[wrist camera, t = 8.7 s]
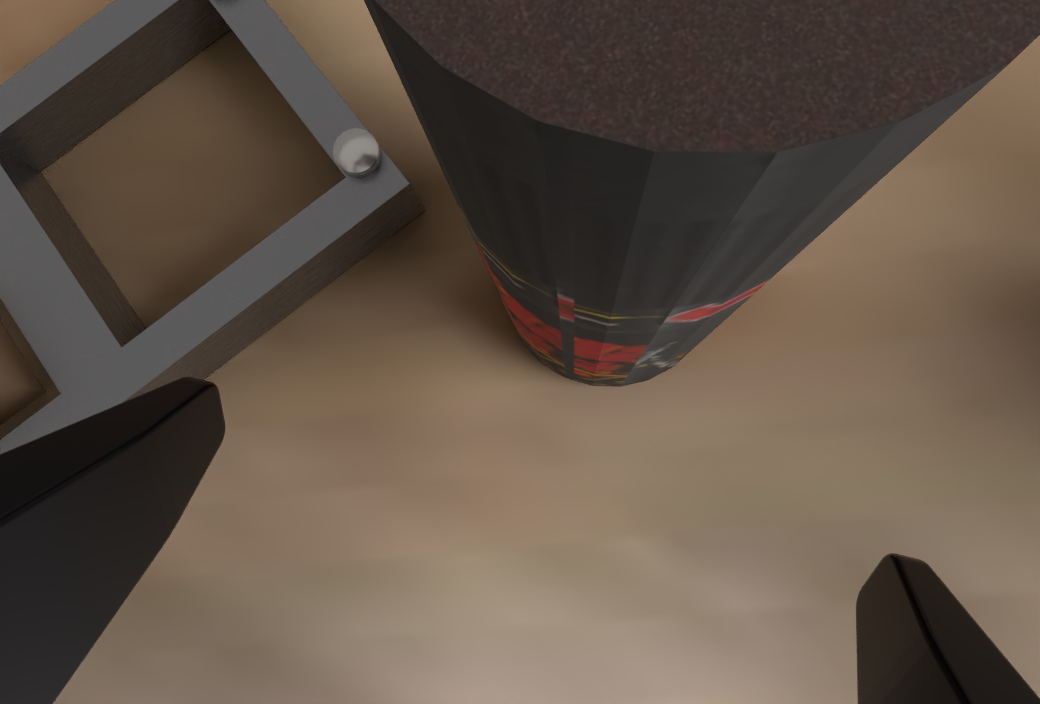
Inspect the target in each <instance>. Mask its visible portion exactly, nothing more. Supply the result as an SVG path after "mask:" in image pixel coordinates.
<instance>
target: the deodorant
mask: <svg viewBox="0 0 1040 704" xmlns="http://www.w3.org/2000/svg"><path fill="white" fill-rule="evenodd" d="M364 1H365V3H366V6H367V8H368V10H369V12H370V14H371V16H372V19H373V21H374V23H375V25H376V27H377V29H378V32H379V34H380V36H381V38H382V40H383V42H384V45H385V47H386V49H387V51H388V53H389V56H390V58H391V60H392V62H393V64H394V66H395V69H396V71H397V73H398V75H399V77H400V79H401V82H402V84H403V86H404V88H405V90H406V92H407V95H408V97H409V99H410V101H411V103H412V105H413V108H414V110H415V112H416V114H417V116H418V119H419V121H420V123H421V125H422V127H423V129H424V132H425V134H426V136H427V138H428V140H429V142H430V145H431V147H432V149H433V151H434V153H435V155H436V158H437V160H438V162H439V164H440V166H441V169H442V171H443V173H444V175H445V177H446V179H447V182H448V184H449V186H450V188H451V190H452V192H453V195H454V197H455V199H456V201H457V203H458V205H459V208H460V210H461V212H462V214H463V216H464V218H465V221H466V223H467V225H468V227H469V229H470V232H471V234H472V236H473V238H474V240H475V242H476V245H477V247H478V249H479V251H480V253H481V255H482V258H483V260H484V262H485V264H486V266H487V268H488V271H489V273H490V275H491V277H492V279H493V282H494V284H495V286H496V288H497V290H498V292H499V295H500V297H501V299H502V301H503V303H504V305H505V308H506V310H507V312H508V314H509V316H510V318H511V321H512V322H513V324H514V326H515V328H516V330H517V332H518V334H519V335H520V337H521V339H522V341H523V343H524V344H525V345H526V346H527V347H528V348H529V350H530V351H531V352H532V353H533V354H534V355H535V356H536V357H537V358H538V359H539V360H540V361H541V362H542V363H543V364H545V365H546V366H548V367H550V368H551V369H553V370H555V371H556V372H558V373H559V374H561V375H563V376H564V377H566V378H569V379H572V380H576V381H579V382H582V383H586V384H589V385H593V386H625V385H629V384H633V383H638V382H642V381H646V380H649V379H651V378H653V377H655V376H657V375H658V374H660V373H662V372H664V371H666V370H668V369H670V368H672V367H673V366H674V365H675V364H676V363H678V362H679V361H680V360H681V359H682V358H683V357H684V356H685V355H686V354H688V353H689V352H690V351H691V350H692V349H693V348H694V347H695V346H696V345H698V344H699V343H700V342H701V341H702V340H703V339H704V338H705V337H706V336H708V335H709V334H710V333H711V332H712V331H713V330H714V329H715V328H716V327H718V326H719V325H720V324H721V323H722V322H723V321H724V320H725V319H726V318H727V317H729V316H730V315H731V314H732V313H733V312H734V311H735V310H736V309H737V308H739V307H740V306H741V305H742V304H743V303H744V302H745V301H746V300H747V299H749V298H750V297H751V296H752V295H753V294H754V293H755V292H756V291H757V290H759V289H760V288H761V287H762V286H763V285H764V284H765V283H766V282H767V281H769V280H770V279H771V278H772V277H773V276H774V275H775V274H776V273H777V272H779V271H780V270H781V269H782V268H783V267H784V266H785V265H786V264H787V263H789V262H790V261H791V260H792V259H793V258H794V257H795V256H796V255H797V254H799V253H800V252H801V251H802V250H803V249H804V248H805V247H806V246H807V245H809V244H810V243H811V242H812V241H813V240H814V239H815V238H816V237H817V236H818V235H820V234H821V233H822V232H823V231H824V230H825V229H826V228H827V227H828V226H830V225H831V224H832V223H833V222H834V221H835V220H836V219H837V218H838V217H840V216H841V215H842V214H843V213H844V212H845V211H846V210H847V209H848V208H850V207H851V206H852V205H853V204H854V203H855V202H856V201H857V200H858V199H860V198H861V197H862V196H863V195H864V194H865V193H866V192H867V191H868V190H870V189H871V188H872V187H873V186H874V185H875V184H876V183H877V182H878V181H880V180H881V179H882V178H883V177H884V176H885V175H886V174H887V173H888V172H890V171H891V170H892V169H893V168H894V167H895V166H896V165H897V164H898V163H900V162H901V161H902V160H903V159H904V158H905V157H906V156H907V155H908V154H910V153H911V152H912V151H913V150H914V149H915V148H916V147H917V146H918V145H919V144H921V143H922V142H923V141H924V140H925V139H926V138H927V137H928V136H929V135H931V134H932V133H933V132H934V131H935V130H936V129H937V128H938V127H939V126H941V125H942V124H943V123H944V122H945V121H946V120H947V119H948V118H949V117H951V116H952V115H953V114H954V113H955V112H956V111H957V110H958V109H959V108H961V107H962V106H963V105H964V104H965V103H966V102H967V101H968V100H969V99H971V98H972V97H973V96H974V95H975V94H976V93H977V92H978V91H979V90H981V89H982V88H983V87H984V86H985V85H986V84H987V83H988V82H989V81H991V80H992V79H993V78H994V77H995V76H996V75H997V74H998V73H999V72H1001V71H1002V70H1003V69H1004V68H1005V67H1006V66H1007V65H1008V64H1009V63H1010V62H1011V61H1012V60H1014V59H1015V58H1016V57H1017V56H1018V55H1019V54H1020V53H1021V52H1022V51H1023V50H1024V49H1025V48H1026V47H1027V46H1028V45H1029V44H1030V43H1032V42H1033V41H1034V40H1035V39H1036V38H1037V37H1038V36H1039V35H1040V0H364Z"/></svg>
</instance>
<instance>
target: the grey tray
mask: <svg viewBox="0 0 1040 704" xmlns="http://www.w3.org/2000/svg"><path fill="white" fill-rule="evenodd" d="M230 29H232V30H233V32H234V33H235V34H236V36H237V37H238V38H239V39H240V41H241V42H242V43H243V45H244V46H245V47H246V49H247V50H248V51H249V52H250V54H251V55H252V56H253V58H254V59H255V60H256V62H257V63H258V64H259V65H260V67H261V68H262V69H263V71H264V72H265V73H266V75H267V76H268V77H269V78H270V80H271V81H272V82H273V84H274V85H275V86H276V88H277V89H278V90H279V91H280V93H281V94H282V95H283V97H284V98H285V99H286V100H287V102H288V103H289V104H290V106H291V107H292V108H293V110H294V111H295V112H296V113H297V115H298V116H299V117H300V119H301V120H302V121H303V123H304V124H305V125H306V126H307V128H308V129H309V130H310V132H311V133H312V134H313V136H314V137H315V138H316V139H317V141H318V142H319V143H320V145H321V146H322V147H323V149H324V150H325V151H326V152H327V154H328V155H329V156H330V158H331V159H332V160H333V162H334V163H335V164H336V165H337V167H338V168H339V169H340V171H341V172H342V173H343V175H344V176H345V177H346V178H344V179H343V180H342V181H340V182H339V183H338V184H336V185H335V186H334V187H332V188H331V189H330V190H329V191H327V192H326V193H325V194H323V195H322V196H321V197H319V198H318V199H317V200H315V201H314V202H313V203H311V204H310V205H309V206H307V207H306V208H305V209H304V210H302V211H301V212H300V213H298V214H297V215H296V216H294V217H293V218H292V219H290V220H289V221H288V222H286V223H285V224H284V225H282V226H281V227H280V228H279V229H277V230H276V231H275V232H273V233H272V234H271V235H269V236H268V237H267V238H265V239H264V240H263V241H261V242H260V243H259V244H257V245H256V246H255V247H253V248H252V249H251V250H250V251H248V252H247V253H246V254H244V255H243V256H242V257H240V258H239V259H238V260H236V261H235V262H234V263H232V264H231V265H230V266H228V267H227V268H226V269H225V270H223V271H222V272H221V273H219V274H218V275H217V276H215V277H214V278H213V279H211V280H210V281H209V282H207V283H206V284H205V285H203V286H202V287H201V288H200V289H198V290H197V291H196V292H194V293H193V294H192V295H190V296H189V297H188V298H186V299H185V300H184V301H182V302H181V303H180V304H178V305H177V306H176V307H175V308H173V309H172V310H171V311H169V312H168V313H167V314H165V315H164V316H163V317H161V318H160V319H159V320H157V321H156V322H155V323H153V324H152V325H151V326H149V327H148V328H147V329H146V328H145V327H144V325H143V324H142V322H141V321H140V319H139V318H138V317H137V315H136V314H135V312H134V311H133V309H132V308H131V306H130V305H129V303H128V302H127V300H126V299H125V297H124V296H123V294H122V293H121V291H120V290H119V288H118V287H117V285H116V284H115V282H114V281H113V279H112V278H111V276H110V275H109V273H108V272H107V270H106V269H105V267H104V266H103V264H102V263H101V261H100V260H99V258H98V257H97V256H96V254H95V253H94V251H93V250H92V248H91V247H90V245H89V244H88V242H87V241H86V239H85V238H84V236H83V235H82V233H81V232H80V230H79V229H78V227H77V226H76V224H75V223H74V221H73V220H72V218H71V217H70V215H69V214H68V212H67V211H66V209H65V208H64V206H63V205H62V203H61V202H60V200H59V199H58V197H57V196H56V195H55V193H54V192H53V190H52V189H51V187H50V186H49V184H48V183H47V181H46V180H45V178H44V177H43V175H42V174H41V172H40V171H42V170H43V169H44V168H46V167H47V166H48V165H50V164H51V163H52V162H54V161H55V160H56V159H58V158H59V157H60V156H62V155H63V154H64V153H66V152H67V151H68V150H70V149H71V148H72V147H74V146H75V145H76V144H78V143H79V142H80V141H82V140H83V139H84V138H86V137H87V136H88V135H90V134H91V133H92V132H94V131H95V130H96V129H98V128H99V127H100V126H102V125H103V124H104V123H106V122H107V121H108V120H110V119H111V118H112V117H114V116H115V115H116V114H118V113H119V112H121V111H122V110H123V109H125V108H126V107H127V106H129V105H130V104H131V103H133V102H134V101H135V100H137V99H138V98H139V97H141V96H142V95H143V94H145V93H146V92H147V91H149V90H150V89H151V88H153V87H154V86H155V85H157V84H158V83H159V82H161V81H162V80H163V79H165V78H166V77H167V76H169V75H170V74H171V73H173V72H174V71H175V70H177V69H178V68H179V67H181V66H182V65H183V64H185V63H186V62H187V61H189V60H190V59H191V58H193V57H194V56H195V55H197V54H198V53H199V52H201V51H202V50H203V49H205V48H206V47H207V46H209V45H210V44H211V43H213V42H214V41H215V40H217V39H218V38H219V37H221V36H222V35H223V34H225V33H226V32H227V31H229V30H230ZM425 210H426V209H425V208H424V206H423V205H422V203H421V201H420V200H419V198H418V196H417V195H416V193H415V192H414V190H413V188H412V187H411V185H410V183H409V182H408V181H407V180H406V178H405V177H404V176H403V175H402V173H401V172H400V171H399V169H398V168H397V167H396V166H395V164H394V163H393V162H392V161H391V159H390V158H389V157H388V156H387V154H386V153H385V152H384V150H383V149H382V148H381V147H380V145H379V144H378V143H377V141H376V140H375V138H374V137H373V135H372V134H371V133H370V132H369V131H368V130H367V129H366V128H365V126H364V125H363V124H362V123H361V121H360V120H359V119H358V118H357V116H356V115H355V114H354V112H353V111H352V110H351V109H350V107H349V106H348V105H347V104H346V102H345V101H344V100H343V99H342V97H341V96H340V95H339V93H338V92H337V91H336V90H335V88H334V87H333V86H332V85H331V83H330V82H329V81H328V80H327V78H326V77H325V76H324V74H323V73H322V72H321V71H320V69H319V68H318V67H317V66H316V64H315V63H314V62H313V61H312V59H311V58H310V57H309V55H308V54H307V53H306V52H305V50H304V49H303V48H302V47H301V45H300V44H299V43H298V41H297V40H296V39H295V38H294V36H293V35H292V34H291V33H290V31H289V30H288V29H287V28H286V26H285V25H284V24H283V22H282V21H281V20H280V19H279V17H278V16H277V15H276V14H275V12H274V11H273V10H272V9H271V7H270V6H269V5H268V3H267V2H266V1H265V0H115V1H114V2H112V3H111V4H110V5H108V6H107V7H106V8H104V9H103V10H102V11H100V12H99V13H97V14H96V15H95V16H93V17H92V18H91V19H89V20H88V21H87V22H85V23H84V24H83V25H81V26H80V27H79V28H77V29H76V30H75V31H73V32H72V33H71V34H69V35H68V36H67V37H65V38H64V39H62V40H61V41H60V42H58V43H57V44H56V45H54V46H53V47H52V48H50V49H49V50H48V51H46V52H45V53H44V54H42V55H41V56H40V57H38V58H37V59H36V60H34V61H33V62H32V63H30V64H29V65H27V66H26V67H25V68H23V69H22V70H21V71H19V72H18V73H17V74H15V75H14V76H13V77H11V78H10V79H9V80H7V81H6V82H5V83H3V84H2V85H1V86H0V299H1V300H2V302H3V303H4V305H5V306H6V308H7V310H8V311H9V313H10V314H11V316H12V318H13V319H14V321H15V322H16V324H17V325H18V327H19V329H20V330H21V332H22V333H23V335H24V337H25V338H26V340H27V341H28V343H29V344H30V346H31V348H32V349H33V351H34V352H35V354H36V355H37V357H38V359H39V360H40V362H41V363H42V365H43V367H44V368H45V370H46V371H47V373H48V374H49V376H50V378H51V379H52V381H53V382H54V384H55V385H56V387H57V389H58V390H59V392H60V393H61V394H60V395H59V396H57V397H56V398H55V399H53V400H52V401H51V402H49V403H48V404H47V405H46V406H44V407H43V408H42V409H40V410H39V411H38V412H36V413H35V414H34V415H32V416H31V417H30V418H28V419H27V420H26V421H24V422H23V423H22V424H20V425H19V426H18V427H17V428H15V429H14V430H13V431H11V432H10V433H9V434H7V435H6V436H5V437H3V438H2V439H1V440H0V454H2V453H4V452H7V451H9V450H11V449H14V448H16V447H18V446H21V445H23V444H26V443H28V442H30V441H33V440H35V439H37V438H40V437H42V436H45V435H47V434H49V433H52V432H54V431H56V430H59V429H61V428H63V427H66V426H68V425H71V424H73V423H75V422H78V421H80V420H82V419H85V418H87V417H90V416H92V415H94V414H97V413H99V412H101V411H104V410H106V409H109V408H111V407H113V406H116V405H118V404H120V403H123V402H125V401H128V400H130V399H132V398H135V397H137V396H139V395H142V394H144V393H147V392H149V391H151V390H154V389H156V388H158V387H161V386H163V385H166V384H168V383H170V382H173V381H175V380H177V379H180V378H183V377H193V378H197V379H201V380H203V379H205V378H206V377H207V376H209V375H210V374H211V373H213V372H214V371H215V370H217V369H218V368H219V367H220V366H222V365H223V364H224V363H226V362H227V361H228V360H230V359H231V358H232V357H234V356H235V355H236V354H238V353H239V352H240V351H241V350H243V349H244V348H245V347H247V346H248V345H249V344H251V343H252V342H253V341H255V340H256V339H257V338H258V337H260V336H261V335H262V334H264V333H265V332H266V331H268V330H269V329H270V328H272V327H273V326H274V325H275V324H277V323H278V322H279V321H281V320H282V319H283V318H285V317H286V316H287V315H289V314H290V313H291V312H292V311H294V310H295V309H296V308H298V307H299V306H300V305H302V304H303V303H304V302H306V301H307V300H308V299H309V298H311V297H312V296H313V295H315V294H316V293H317V292H319V291H320V290H321V289H323V288H324V287H325V286H326V285H328V284H329V283H330V282H332V281H333V280H334V279H336V278H337V277H338V276H340V275H341V274H342V273H343V272H345V271H346V270H347V269H349V268H350V267H351V266H353V265H354V264H355V263H357V262H358V261H359V260H360V259H362V258H363V257H364V256H366V255H367V254H368V253H370V252H371V251H372V250H374V249H375V248H376V247H378V246H379V245H380V244H381V243H383V242H384V241H385V240H387V239H388V238H389V237H391V236H392V235H393V234H395V233H396V232H397V231H398V230H400V229H401V228H402V227H404V226H405V225H406V224H408V223H409V222H410V221H412V220H413V219H414V218H415V217H417V216H418V215H419V214H421V213H422V212H423V211H425Z"/></svg>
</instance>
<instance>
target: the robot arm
mask: <svg viewBox="0 0 1040 704" xmlns="http://www.w3.org/2000/svg"><path fill="white" fill-rule="evenodd" d="M224 434H225V421H224V416H223V410H222V405H221V400H220V394H219V390H218V388H217V386H216V385H215V384H214V383H212V382H209V381H205V380H201V379H197V378H193V377H183V378H180V379H177V380H175V381H173V382H170V383H168V384H166V385H163V386H161V387H158V388H156V389H154V390H151V391H149V392H147V393H144V394H142V395H139V396H137V397H135V398H132V399H130V400H128V401H125V402H123V403H120V404H118V405H116V406H113V407H111V408H109V409H106V410H104V411H101V412H99V413H97V414H94V415H92V416H90V417H87V418H85V419H82V420H80V421H78V422H75V423H73V424H71V425H68V426H66V427H63V428H61V429H59V430H56V431H54V432H52V433H49V434H47V435H45V436H42V437H40V438H37V439H35V440H33V441H30V442H28V443H26V444H23V445H21V446H18V447H16V448H14V449H11V450H9V451H7V452H4V453H2V454H0V704H53V702H54V701H55V700H56V698H57V697H58V695H59V694H60V692H61V691H62V690H63V688H64V687H65V685H66V684H67V682H68V681H69V680H70V678H71V677H72V675H73V674H74V672H75V671H76V670H77V668H78V667H79V665H80V664H81V662H82V661H83V660H84V658H85V657H86V655H87V654H88V652H89V651H90V650H91V648H92V647H93V645H94V644H95V642H96V641H97V640H98V638H99V637H100V635H101V634H102V632H103V631H104V630H105V628H106V627H107V625H108V624H109V622H110V621H111V620H112V618H113V617H114V615H115V614H116V612H117V611H118V610H119V608H120V607H121V605H122V604H123V602H124V601H125V600H126V598H127V597H128V595H129V594H130V592H131V591H132V590H133V588H134V587H135V585H136V584H137V582H138V581H139V580H140V578H141V577H142V575H143V574H144V572H145V571H146V570H147V568H148V567H149V565H150V564H151V562H152V561H153V560H154V558H155V557H156V555H157V554H158V552H159V551H160V550H161V548H162V547H163V545H164V544H165V542H166V541H167V539H168V538H169V536H170V534H171V533H172V531H173V529H174V528H175V526H176V524H177V523H178V521H179V519H180V517H181V516H182V514H183V512H184V510H185V508H186V507H187V505H188V503H189V501H190V499H191V497H192V496H193V494H194V492H195V490H196V488H197V487H198V485H199V483H200V481H201V479H202V477H203V476H204V474H205V472H206V470H207V468H208V467H209V465H210V463H211V461H212V459H213V458H214V456H215V454H216V452H217V450H218V448H219V447H220V445H221V443H222V440H223V438H224ZM856 635H857V690H858V704H1040V698H1039V697H1038V696H1037V695H1036V694H1035V692H1034V691H1033V690H1032V689H1031V688H1030V686H1029V685H1028V684H1027V683H1026V682H1025V680H1024V679H1023V678H1022V677H1021V675H1020V674H1019V673H1018V672H1017V671H1016V669H1015V668H1014V667H1013V666H1012V665H1011V663H1010V662H1009V661H1008V660H1007V659H1006V657H1005V656H1004V655H1003V654H1002V653H1001V651H1000V650H999V649H998V648H997V647H996V645H995V644H994V643H993V642H992V641H991V639H990V638H989V637H988V636H987V635H986V633H985V632H984V631H983V630H982V629H981V627H980V626H979V625H978V624H977V623H976V621H975V620H974V619H973V618H972V617H971V615H970V614H969V613H968V612H967V611H966V609H965V608H964V607H963V606H962V605H961V603H960V602H959V601H958V600H957V599H956V597H955V596H954V595H953V594H952V593H951V591H950V590H949V589H948V588H947V587H946V585H945V584H944V583H943V582H942V581H941V579H940V578H939V577H938V576H937V575H936V573H935V572H934V571H933V570H932V569H931V567H930V566H929V565H928V564H926V563H925V562H923V561H921V560H919V559H915V558H911V557H907V556H903V555H899V554H895V553H890V554H888V555H886V556H885V557H884V558H883V559H882V560H881V561H880V563H879V564H878V566H877V567H876V568H875V570H874V571H873V573H872V574H871V576H870V577H869V578H868V580H867V581H866V583H865V584H864V585H863V587H862V588H861V590H860V592H859V595H858V598H857V603H856Z"/></svg>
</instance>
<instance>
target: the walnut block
mask: <svg viewBox="0 0 1040 704" xmlns="http://www.w3.org/2000/svg"><path fill="white" fill-rule="evenodd" d="M44 392H45V389H44V388H43V386H42V385H41V383H40V381H39V380H38V378H37V377H36V375H35V373H34V372H33V370H32V369H31V367H30V365H29V364H28V362H27V361H26V359H25V358H24V356H23V354H22V353H21V351H20V350H19V348H18V346H17V345H16V343H15V342H14V340H13V338H12V337H11V335H10V334H9V332H8V330H7V329H6V327H5V326H4V324H3V322H2V321H1V319H0V425H2V424H3V423H4V422H6V421H7V420H8V419H10V418H11V417H12V416H14V415H15V414H16V413H18V412H19V411H20V410H22V409H23V408H24V407H26V406H27V405H28V404H29V403H31V402H32V401H33V400H35V399H36V398H37V397H39V396H40V395H41V394H43V393H44Z"/></svg>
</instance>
